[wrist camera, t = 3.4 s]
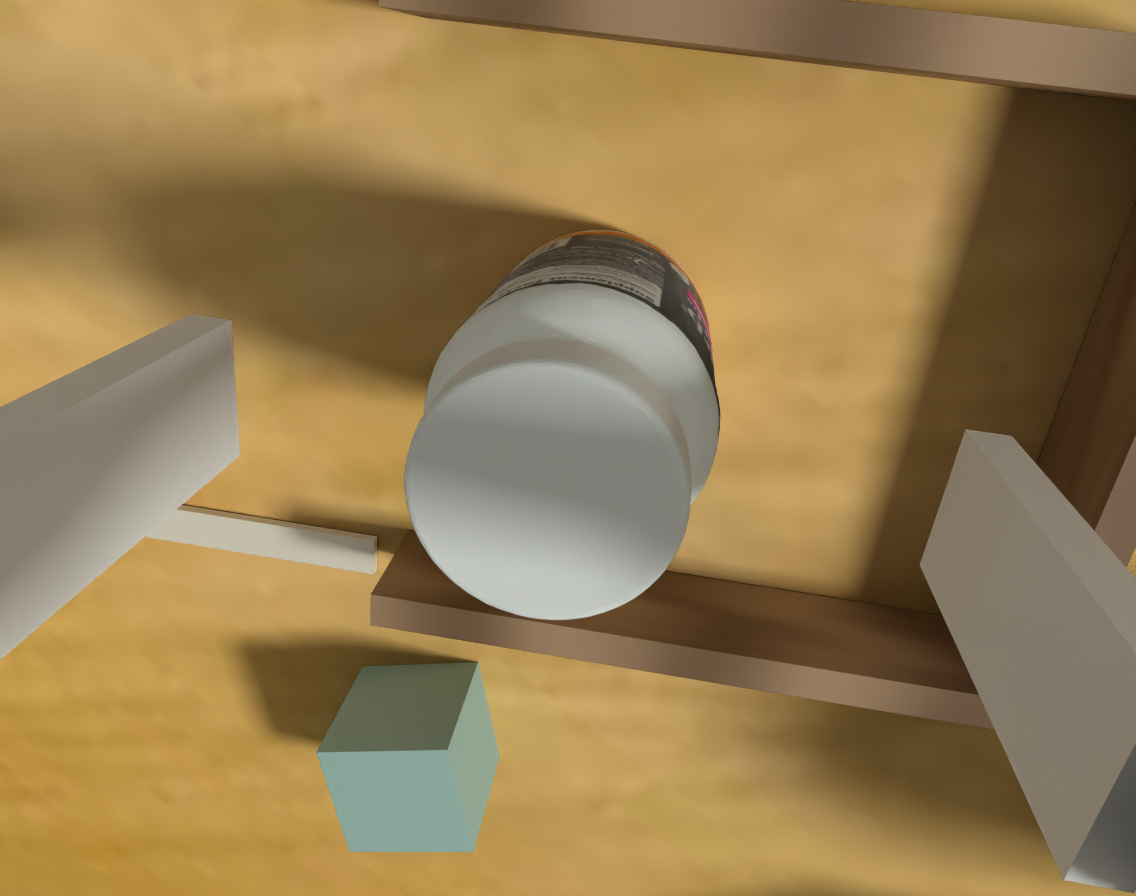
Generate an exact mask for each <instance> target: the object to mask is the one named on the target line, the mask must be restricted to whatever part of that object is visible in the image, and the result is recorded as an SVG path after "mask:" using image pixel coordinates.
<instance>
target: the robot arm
mask: <svg viewBox="0 0 1136 896" xmlns="http://www.w3.org/2000/svg"><path fill="white" fill-rule="evenodd" d="M238 456H240V447H239V432H238V417H237V402H236V386H235V371H234V356H233V341H232V325H231V320H229V319H222V318H215V317H209V316H202V315H195V314H190V315H188V316H186V317H184V318H182V319H180V320H178V321H176V322H174V323H172V324H170V325H168V326H165V327H163V328H161V329H159V330H157V331H155V332H153V333H151V334H149V335H147V336H145V337H143V338H141V339H139V340H137V341H135V342H133V343H131V344H129V345H127V346H125V347H123V348H120V349H118V350H116V351H114V352H112V353H110V354H108V355H106V356H104V357H102V358H100V359H98V360H96V361H94V362H92V363H90V364H88V365H86V366H84V367H82V368H80V369H78V370H75V371H73V372H71V373H69V374H67V375H65V376H63V377H61V378H59V379H57V380H55V381H53V382H51V383H49V384H47V385H45V386H43V387H41V388H39V389H37V390H35V391H32V392H30V393H28V394H26V395H24V396H22V397H20V398H18V399H16V400H14V401H12V402H10V403H8V404H6V405H4V406H2V407H0V660H1V659H2V658H3V657H4V656H5V655H6V654H8V653H9V652H10V651H11V650H12V649H13V648H15V647H16V646H17V645H18V644H19V643H20V642H22V641H23V640H24V639H25V638H26V637H28V636H29V635H30V634H31V633H32V632H33V631H35V630H36V629H37V628H38V627H39V626H40V625H42V624H43V623H44V622H45V621H46V620H47V619H49V618H50V617H51V616H52V615H53V614H54V613H56V612H57V611H58V610H59V609H60V608H61V607H63V606H64V605H65V604H66V603H67V602H69V601H70V600H71V599H72V598H73V597H74V596H76V595H77V594H78V593H79V592H80V591H81V590H83V589H84V588H85V587H86V586H87V585H88V584H90V583H91V582H92V581H93V580H94V579H95V578H97V577H98V576H99V575H100V574H101V573H103V572H104V571H105V570H106V569H107V568H108V567H110V566H111V565H112V564H113V563H114V562H115V561H117V560H118V559H119V558H120V557H121V556H122V555H124V554H125V553H126V552H127V551H128V550H129V549H131V548H132V547H133V546H134V545H135V544H136V543H138V542H139V541H140V540H141V539H142V538H144V537H145V536H146V535H147V534H148V533H149V532H151V531H152V530H153V529H154V528H155V527H156V526H158V525H159V524H160V523H161V522H162V521H163V520H165V519H166V518H167V517H168V516H169V515H170V514H172V513H173V512H174V511H175V510H176V509H177V508H179V507H180V506H181V505H182V504H183V503H185V502H186V501H187V500H188V499H189V498H190V497H192V496H193V495H194V494H195V493H196V492H197V491H199V490H200V489H201V488H202V487H203V486H204V485H206V484H207V483H208V482H209V481H210V480H211V479H213V478H214V477H215V476H216V475H217V474H218V473H220V472H221V471H222V470H223V469H224V468H226V467H227V466H228V465H229V464H230V463H231V462H233V461H234V460H235V459H236V458H237V457H238ZM920 567H921V569H922V571H923V574H924V576H925V578H926V580H927V582H928V584H929V587H930V589H931V591H932V593H933V595H934V598H935V600H936V602H937V604H938V606H939V609H940V611H941V613H942V615H943V617H944V619H945V622H946V624H947V626H948V628H949V630H950V633H951V635H952V637H953V639H954V641H955V644H956V646H957V648H958V650H959V652H960V654H961V657H962V659H963V661H964V663H965V665H966V668H967V670H968V672H969V674H970V676H971V678H972V681H973V683H974V685H975V687H976V689H977V692H978V694H979V696H980V698H981V700H982V703H983V705H984V707H985V709H986V711H987V713H988V716H989V718H990V720H991V722H992V724H993V727H994V729H995V731H996V733H997V735H998V737H999V740H1000V742H1001V744H1002V746H1003V748H1004V751H1005V753H1006V755H1007V757H1008V759H1009V762H1010V764H1011V766H1012V768H1013V770H1014V772H1015V775H1016V777H1017V779H1018V781H1019V783H1020V786H1021V788H1022V790H1023V792H1024V794H1025V796H1026V799H1027V801H1028V803H1029V805H1030V807H1031V810H1032V812H1033V814H1034V816H1035V818H1036V821H1037V823H1038V825H1039V827H1040V829H1041V831H1042V834H1043V836H1044V838H1045V840H1046V842H1047V845H1048V847H1049V849H1050V851H1051V853H1052V855H1053V858H1054V860H1055V862H1056V864H1057V866H1058V869H1059V871H1060V873H1061V875H1062V877H1063V880H1067V881H1072V882H1077V883H1083V884H1088V885H1093V886H1099V887H1104V888H1109V889H1115V890H1120V891H1125V892H1131V893H1134V892H1135V891H1136V578H1135V577H1134V576H1133V575H1132V574H1131V572H1130V571H1129V570H1128V569H1127V568H1126V567H1125V566H1124V564H1123V563H1122V562H1121V561H1120V560H1119V559H1118V557H1117V556H1116V555H1115V554H1114V553H1113V552H1112V551H1111V549H1110V548H1109V547H1108V546H1107V545H1106V544H1105V543H1104V541H1103V540H1102V539H1101V538H1100V537H1099V536H1098V534H1097V533H1096V532H1095V531H1094V530H1093V529H1092V528H1091V526H1090V525H1089V524H1088V523H1087V522H1086V521H1085V520H1084V518H1083V517H1082V516H1081V515H1080V514H1079V513H1078V511H1077V510H1076V509H1075V508H1074V507H1073V506H1072V505H1071V503H1070V502H1069V501H1068V500H1067V499H1066V498H1065V497H1064V495H1063V494H1062V493H1061V492H1060V491H1059V490H1058V489H1057V487H1056V486H1055V485H1054V484H1053V483H1052V482H1051V480H1050V479H1049V478H1048V477H1047V476H1046V475H1045V474H1044V472H1043V471H1042V470H1041V469H1040V468H1039V467H1038V466H1037V464H1036V463H1035V462H1034V461H1033V460H1032V459H1031V457H1030V456H1029V455H1028V454H1027V453H1026V452H1025V451H1024V449H1023V448H1022V447H1021V446H1020V445H1019V444H1018V443H1017V441H1016V440H1015V439H1014V438H1013V437H1012V436H1009V435H1002V434H995V433H988V432H982V431H975V430H968V429H966V430H965V433H964V436H963V439H962V442H961V445H960V447H959V450H958V453H957V456H956V459H955V462H954V465H953V468H952V471H951V474H950V477H949V480H948V483H947V486H946V489H945V492H944V495H943V498H942V500H941V503H940V506H939V509H938V512H937V515H936V518H935V521H934V524H933V527H932V530H931V533H930V536H929V539H928V542H927V545H926V548H925V551H924V553H923V556H922V559H921V562H920Z"/></svg>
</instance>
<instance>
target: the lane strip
mask: <svg viewBox="0 0 1136 896" xmlns="http://www.w3.org/2000/svg"><path fill="white" fill-rule="evenodd" d="M145 537H149V538H155V539H161V540H167V541H173V542H179V543H185V544H191V545H197V546H204V547H210V548H216V549H222V550H228V551H234V552H240V553H246V554H252V555H258V556H265V557H271V558H277V559H283V560H289V561H295V562H301V563H307V564H313V565H319V566H326V567H332V568H338V569H344V570H350V571H356V572H362V573H368V574H374V573H375V571H376V570H377V536H372V535H366V534H360V533H353V532H347V531H341V530H335V529H328V528H322V527H316V526H310V525H304V524H297V523H291V522H285V521H279V520H272V519H266V518H260V517H254V516H248V515H241V514H235V513H229V512H223V511H216V510H210V509H204V508H198V507H192V506H185V505H181V506H180V507H179V508H177V509H176V510H175V511H174V512H173V513H172V514H170V515H169V516H168V517H167V518H166V519H165V520H163V521H162V522H161V523H160V524H159V525H158V526H156V527H155V528H154V529H153V530H152V531H151V532H149V533H148V534H147V535H146V536H145Z"/></svg>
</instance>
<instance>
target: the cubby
mask: <svg viewBox="0 0 1136 896" xmlns="http://www.w3.org/2000/svg"><path fill="white" fill-rule="evenodd" d="M379 7H383V8H387V9H391V10H396V11H400V12H404V13H408V14H412V15H417V16H421V17H425V18H431V19H440V20H448V21H457V22H465V23H474V24H482V25H491V26H499V27H508V28H516V29H525V30H533V31H542V32H550V33H559V34H567V35H576V36H584V37H593V38H601V39H610V40H618V41H626V42H635V43H643V44H652V45H660V46H669V47H677V48H686V49H694V50H703V51H711V52H720V53H728V54H737V55H745V56H754V57H762V58H771V59H779V60H788V61H796V62H805V63H813V64H822V65H830V66H839V67H847V68H856V69H864V70H873V71H881V72H890V73H898V74H907V75H915V76H924V77H932V78H941V79H949V80H958V81H966V82H975V83H983V84H992V85H1000V86H1009V87H1017V88H1026V89H1034V90H1043V91H1051V92H1060V93H1068V94H1077V95H1085V96H1094V97H1102V98H1111V99H1119V100H1128V101H1136V33H1128V32H1119V31H1110V30H1101V29H1092V28H1083V27H1075V26H1066V25H1057V24H1048V23H1039V22H1030V21H1021V20H1012V19H1003V18H995V17H986V16H977V15H968V14H959V13H950V12H941V11H932V10H923V9H915V8H906V7H897V6H888V5H879V4H870V3H861V2H852V1H843V0H379ZM1037 466H1038V467H1039V468H1040V469H1041V470H1042V471H1043V472H1044V474H1045V475H1046V476H1047V477H1048V478H1049V479H1050V480H1051V482H1052V483H1053V484H1054V485H1055V486H1056V487H1057V489H1058V490H1059V491H1060V492H1061V493H1062V494H1063V495H1064V497H1065V498H1066V499H1067V500H1068V501H1069V502H1070V503H1071V505H1072V506H1073V507H1074V508H1075V509H1076V510H1077V511H1078V513H1079V514H1080V515H1081V516H1082V517H1083V518H1084V520H1085V521H1086V522H1087V523H1088V524H1089V525H1090V526H1091V528H1092V529H1093V530H1094V531H1095V532H1096V533H1097V534H1098V536H1099V537H1100V538H1101V539H1102V540H1103V541H1104V543H1105V544H1106V545H1107V546H1108V547H1109V548H1110V549H1111V551H1112V552H1113V553H1114V554H1115V555H1116V556H1117V557H1118V559H1119V560H1120V561H1121V562H1122V563H1123V564H1124V566H1125V567H1127V565H1128V563H1129V560H1130V558H1131V556H1132V554H1133V552H1134V550H1135V547H1136V204H1135V207H1134V209H1133V212H1132V215H1131V217H1130V220H1129V222H1128V225H1127V228H1126V230H1125V233H1124V236H1123V238H1122V241H1121V243H1120V246H1119V249H1118V251H1117V254H1116V257H1115V259H1114V262H1113V265H1112V267H1111V270H1110V272H1109V275H1108V278H1107V280H1106V283H1105V286H1104V288H1103V291H1102V293H1101V296H1100V299H1099V301H1098V304H1097V307H1096V309H1095V312H1094V315H1093V317H1092V320H1091V322H1090V325H1089V328H1088V330H1087V333H1086V336H1085V338H1084V341H1083V343H1082V346H1081V349H1080V351H1079V354H1078V357H1077V359H1076V362H1075V365H1074V367H1073V370H1072V372H1071V375H1070V378H1069V380H1068V383H1067V386H1066V388H1065V391H1064V393H1063V396H1062V399H1061V401H1060V404H1059V407H1058V409H1057V412H1056V415H1055V417H1054V420H1053V422H1052V425H1051V428H1050V430H1049V433H1048V436H1047V438H1046V441H1045V443H1044V446H1043V449H1042V451H1041V454H1040V457H1039V459H1038V462H1037ZM370 625H374V626H380V627H385V628H391V629H397V630H403V631H409V632H415V633H421V634H427V635H433V636H439V637H445V638H451V639H457V640H463V641H469V642H475V643H481V644H487V645H493V646H498V647H504V648H510V649H516V650H522V651H528V652H534V653H540V654H546V655H552V656H558V657H564V658H570V659H576V660H582V661H588V662H594V663H600V664H606V665H611V666H617V667H623V668H629V669H635V670H641V671H647V672H653V673H659V674H665V675H671V676H677V677H683V678H689V679H695V680H701V681H707V682H713V683H719V684H724V685H730V686H736V687H742V688H748V689H754V690H760V691H766V692H772V693H778V694H784V695H790V696H796V697H802V698H808V699H814V700H820V701H826V702H832V703H837V704H843V705H849V706H855V707H861V708H867V709H873V710H879V711H885V712H891V713H897V714H903V715H909V716H915V717H921V718H927V719H933V720H939V721H944V722H950V723H956V724H962V725H968V726H974V727H980V728H986V729H992V730H995V729H994V727H993V724H992V722H991V720H990V718H989V716H988V713H987V711H986V709H985V707H984V705H983V703H982V700H981V698H980V696H979V694H978V692H977V689H976V687H975V685H974V683H973V681H972V678H971V676H970V674H969V672H968V670H967V668H966V665H965V663H964V661H963V659H962V657H961V654H960V652H959V650H958V648H957V646H956V644H955V641H954V639H953V637H952V635H951V633H950V630H949V628H948V626H947V624H946V622H945V619H944V617H943V615H937V614H930V613H924V612H918V611H912V610H905V609H899V608H893V607H887V606H880V605H874V604H868V603H862V602H855V601H849V600H843V599H837V598H830V597H824V596H818V595H812V594H805V593H799V592H793V591H787V590H780V589H774V588H768V587H762V586H755V585H749V584H743V583H736V582H730V581H724V580H718V579H711V578H705V577H699V576H693V575H686V574H680V573H674V572H668V571H664V572H663V573H662V575H661V576H660V577H659V578H658V579H657V580H656V581H655V582H654V583H653V584H652V585H651V586H650V587H649V588H647V589H646V590H645V591H644V592H642V593H641V594H640V595H638V596H637V597H635V598H634V599H632V600H631V601H629V602H627V603H625V604H623V605H621V606H619V607H617V608H614V609H612V610H609V611H606V612H603V613H600V614H597V615H593V616H590V617H584V618H578V619H569V620H546V619H536V618H530V617H525V616H520V615H516V614H513V613H510V612H507V611H504V610H501V609H498V608H496V607H493V606H491V605H488V604H486V603H484V602H482V601H481V600H479V599H477V598H476V597H474V596H472V595H470V594H469V593H467V592H466V591H465V590H463V589H462V588H461V587H459V586H458V585H457V584H455V583H454V582H453V581H452V580H451V579H449V578H448V577H447V576H446V575H445V574H444V573H443V571H442V570H441V569H440V568H439V567H438V566H437V565H436V564H435V563H434V561H433V560H432V559H431V557H430V556H429V555H428V553H427V551H426V550H425V548H424V547H423V545H422V543H421V541H420V539H419V538H418V536H417V534H416V532H415V531H411V530H409V532H408V533H407V535H406V537H405V538H404V540H403V542H402V543H401V545H400V547H399V548H398V550H397V552H396V553H395V555H394V557H393V558H392V560H391V562H390V563H389V565H388V567H387V568H386V570H385V572H384V573H383V575H382V577H381V578H380V580H379V582H378V583H377V585H376V587H375V588H374V590H373V592H372V593H371V618H370Z"/></svg>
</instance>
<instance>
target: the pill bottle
mask: <svg viewBox="0 0 1136 896" xmlns="http://www.w3.org/2000/svg"><path fill="white" fill-rule="evenodd" d="M719 430H720V406H719V400H718V395H717V389H716V385H715V376H714V366H713V356H712V343H711V338H710V332H709V324H708V319H707V314H706V311H705V308H704V305H703V301H702V299H701V296H700V294H699V291H698V290H697V288H696V286H695V284H694V282H693V281H692V279H691V278H690V277H689V275H688V274H687V272H686V271H685V270H684V269H683V268H682V266H681V265H680V264H679V263H678V262H677V261H676V260H675V259H674V258H673V257H672V256H670V255H669V254H668V253H667V252H666V251H664V250H663V249H661V248H659V247H658V246H656V245H655V244H653V243H651V242H649V241H647V240H645V239H642V238H640V237H638V236H635V235H632V234H629V233H624V232H619V231H613V230H587V231H580V232H575V233H571V234H568V235H565V236H562V237H559V238H556V239H554V240H552V241H550V242H548V243H546V244H544V245H542V246H541V247H539V248H538V249H536V250H535V251H533V252H532V253H531V254H529V255H528V256H527V257H526V258H525V259H524V260H523V261H521V262H520V263H519V264H518V265H517V266H516V267H515V268H514V269H513V270H512V271H511V272H510V274H509V275H508V276H507V277H506V278H505V279H504V280H503V281H502V282H501V283H500V284H499V285H498V286H497V287H496V288H495V290H494V291H493V292H492V293H491V295H490V296H489V297H488V298H487V299H486V300H485V301H484V303H483V304H482V305H481V306H480V307H479V308H478V309H477V310H476V311H475V312H474V313H473V314H472V315H471V316H470V317H469V318H468V319H467V320H466V322H465V323H464V324H463V325H462V326H461V327H460V328H459V329H458V330H457V331H456V332H455V334H454V335H453V336H452V338H451V339H450V340H449V341H448V343H447V344H446V346H445V347H444V349H443V351H442V352H441V354H440V356H439V358H438V360H437V362H436V364H435V367H434V370H433V373H432V376H431V379H430V382H429V385H428V389H427V394H426V398H425V405H424V415H423V417H422V418H421V420H420V422H419V424H418V426H417V428H416V430H415V433H414V435H413V438H412V441H411V444H410V447H409V451H408V455H407V460H406V465H405V473H404V487H405V496H406V502H407V507H408V512H409V515H410V518H411V521H412V524H413V527H414V530H415V532H416V534H417V536H418V538H419V539H420V541H421V543H422V545H423V547H424V548H425V550H426V551H427V553H428V555H429V556H430V557H431V559H432V560H433V561H434V563H435V564H436V565H437V566H438V567H439V568H440V569H441V570H442V571H443V573H444V574H445V575H446V576H447V577H448V578H449V579H451V580H452V581H453V582H454V583H455V584H457V585H458V586H459V587H461V588H462V589H463V590H465V591H466V592H467V593H469V594H470V595H472V596H474V597H476V598H477V599H479V600H481V601H482V602H484V603H486V604H488V605H491V606H493V607H496V608H498V609H501V610H504V611H507V612H510V613H513V614H516V615H520V616H525V617H530V618H536V619H546V620H569V619H578V618H584V617H590V616H593V615H597V614H600V613H603V612H606V611H609V610H612V609H614V608H617V607H619V606H621V605H623V604H625V603H627V602H629V601H631V600H632V599H634V598H635V597H637V596H638V595H640V594H641V593H642V592H644V591H645V590H646V589H647V588H649V587H650V586H651V585H652V584H653V583H654V582H655V581H656V580H657V579H658V578H659V577H660V576H661V575H662V573H663V572H664V571H665V570H666V568H667V567H668V565H669V564H670V563H671V561H672V560H673V558H674V556H675V554H676V553H677V551H678V549H679V547H680V544H681V542H682V540H683V537H684V534H685V531H686V527H687V523H688V519H689V513H690V506H691V505H692V503H693V502H694V500H695V499H696V498H697V496H698V494H699V493H700V491H701V490H702V488H703V486H704V484H705V482H706V480H707V478H708V475H709V473H710V470H711V467H712V464H713V461H714V457H715V454H716V451H717V444H718V437H719Z"/></svg>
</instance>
